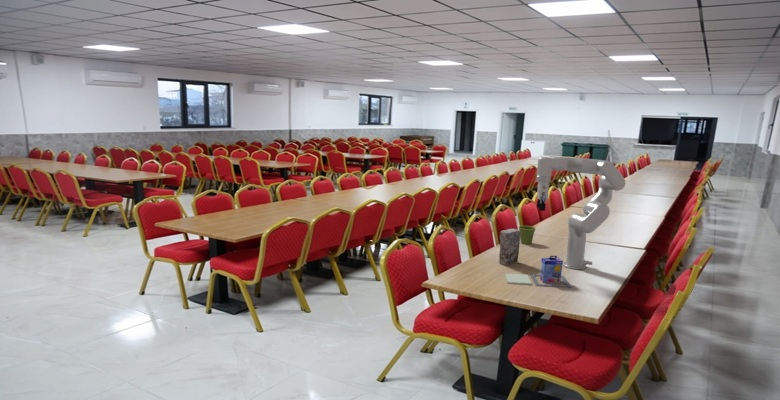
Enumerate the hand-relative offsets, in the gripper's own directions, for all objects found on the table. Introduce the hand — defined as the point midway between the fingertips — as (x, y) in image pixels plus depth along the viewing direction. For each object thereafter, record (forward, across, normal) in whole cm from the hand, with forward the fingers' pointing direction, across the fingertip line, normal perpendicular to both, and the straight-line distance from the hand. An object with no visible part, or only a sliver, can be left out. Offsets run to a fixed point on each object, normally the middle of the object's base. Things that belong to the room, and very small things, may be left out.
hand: (540, 209), depth 269 cm
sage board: (+35, -24, +12) cm, 44 cm away
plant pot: (+35, +58, 0) cm, 68 cm away
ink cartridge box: (+35, -22, -5) cm, 42 cm away
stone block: (+35, +7, +15) cm, 39 cm away
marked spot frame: (+35, -22, -5) cm, 41 cm away
